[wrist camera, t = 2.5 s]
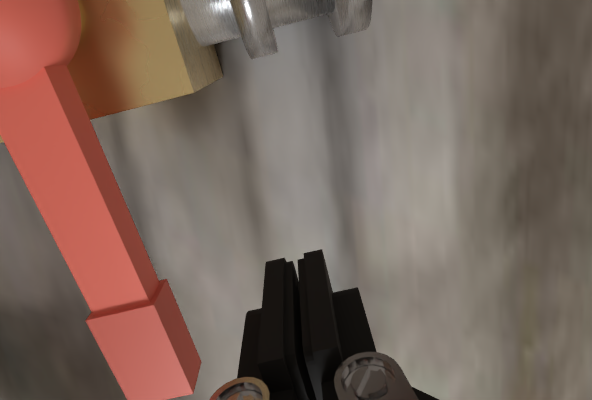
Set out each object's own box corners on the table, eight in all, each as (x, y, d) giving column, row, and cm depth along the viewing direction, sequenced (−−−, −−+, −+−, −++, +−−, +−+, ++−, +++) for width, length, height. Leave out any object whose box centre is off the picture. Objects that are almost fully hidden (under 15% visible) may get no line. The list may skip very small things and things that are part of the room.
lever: (220, 357, 16) (214, 389, 15) (126, 378, 17) (110, 411, 15) (43, -89, 11) (5, -111, 9) (-95, -49, 11) (-154, -63, 10)
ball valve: (355, 42, 21) (404, 40, 12) (-45, 146, 22) (-239, 206, 14) (326, -122, 18) (363, -256, 10) (-124, 6, 19) (-417, -21, 11)
